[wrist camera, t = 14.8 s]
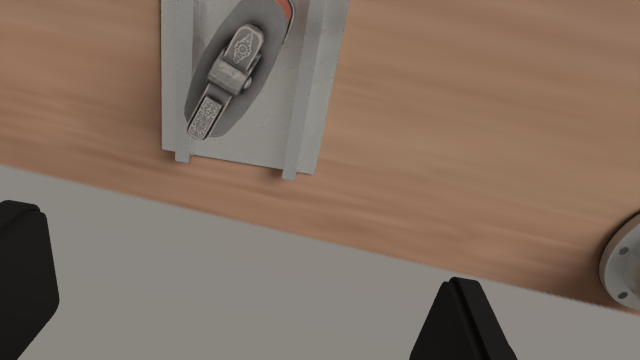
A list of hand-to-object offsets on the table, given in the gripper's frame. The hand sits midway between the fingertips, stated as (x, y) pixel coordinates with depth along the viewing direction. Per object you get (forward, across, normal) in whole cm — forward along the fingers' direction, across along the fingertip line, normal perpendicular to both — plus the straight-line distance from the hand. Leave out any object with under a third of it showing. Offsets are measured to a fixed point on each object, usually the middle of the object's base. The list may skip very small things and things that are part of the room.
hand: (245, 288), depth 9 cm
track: (+21, +4, -2) cm, 22 cm away
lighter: (+21, +4, -2) cm, 21 cm away
